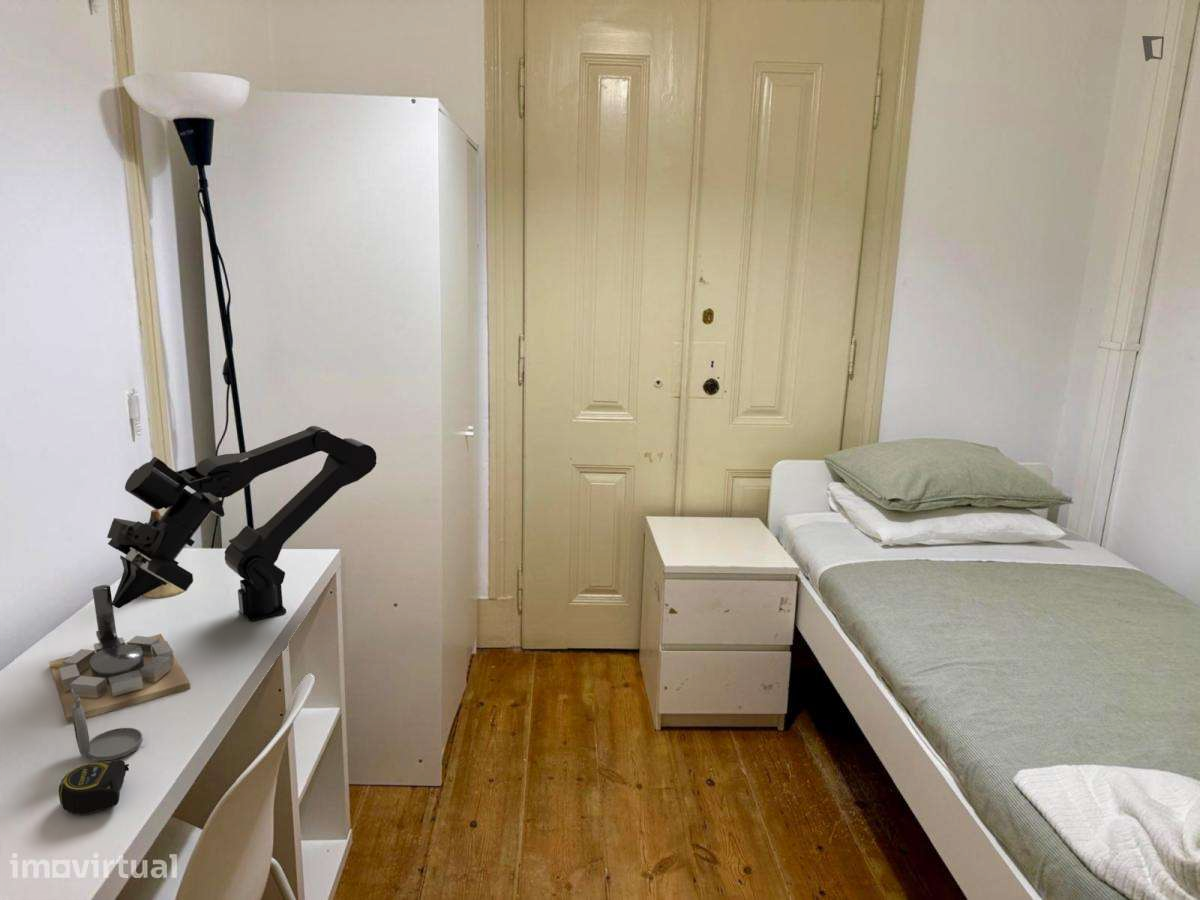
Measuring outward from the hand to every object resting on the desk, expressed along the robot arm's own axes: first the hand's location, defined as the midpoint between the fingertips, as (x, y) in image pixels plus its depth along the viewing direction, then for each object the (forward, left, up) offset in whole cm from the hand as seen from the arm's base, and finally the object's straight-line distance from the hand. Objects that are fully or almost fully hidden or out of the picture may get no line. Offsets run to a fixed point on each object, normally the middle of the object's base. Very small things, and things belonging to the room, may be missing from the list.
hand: (115, 606), depth 136 cm
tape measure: (+9, +37, -9) cm, 39 cm away
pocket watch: (+7, +26, -9) cm, 29 cm away
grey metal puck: (+2, +7, -9) cm, 12 cm away
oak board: (+2, +7, -9) cm, 11 cm away
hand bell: (-11, -24, -9) cm, 28 cm away
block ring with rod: (+2, +6, -7) cm, 10 cm away
